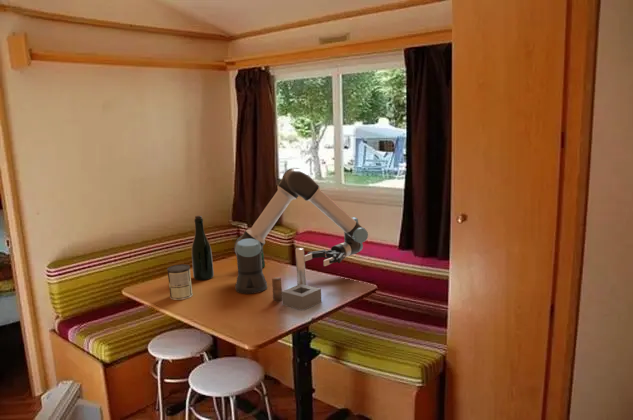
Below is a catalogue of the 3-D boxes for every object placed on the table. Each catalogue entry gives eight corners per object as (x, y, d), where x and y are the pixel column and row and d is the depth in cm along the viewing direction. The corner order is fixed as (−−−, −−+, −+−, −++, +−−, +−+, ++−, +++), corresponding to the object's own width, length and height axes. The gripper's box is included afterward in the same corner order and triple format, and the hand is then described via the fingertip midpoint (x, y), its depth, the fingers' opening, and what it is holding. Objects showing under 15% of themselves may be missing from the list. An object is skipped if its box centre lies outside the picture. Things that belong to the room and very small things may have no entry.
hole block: (282, 304, 217) (281, 291, 216) (301, 296, 226) (300, 284, 225) (303, 310, 209) (302, 296, 208) (321, 301, 218) (320, 288, 217)
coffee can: (166, 297, 235) (163, 268, 232) (185, 291, 242) (182, 263, 239) (177, 301, 227) (174, 272, 225) (196, 295, 234) (194, 266, 232)
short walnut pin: (271, 300, 223) (270, 279, 221) (277, 297, 226) (276, 276, 224) (277, 302, 221) (276, 280, 219) (284, 299, 224) (282, 278, 222)
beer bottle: (204, 273, 269) (199, 213, 263) (218, 276, 263) (213, 214, 257) (189, 279, 261) (183, 217, 255) (202, 281, 255) (197, 218, 249)
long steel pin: (295, 290, 235) (293, 249, 232) (301, 288, 238) (299, 247, 235) (302, 292, 232) (299, 250, 229) (307, 289, 235) (305, 248, 232)
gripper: (360, 262, 248) (333, 272, 232) (322, 255, 264) (294, 264, 248) (360, 247, 247) (333, 257, 231) (321, 241, 263) (293, 250, 247)
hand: (313, 261), depth 240 cm, fingers open, 13 cm apart
